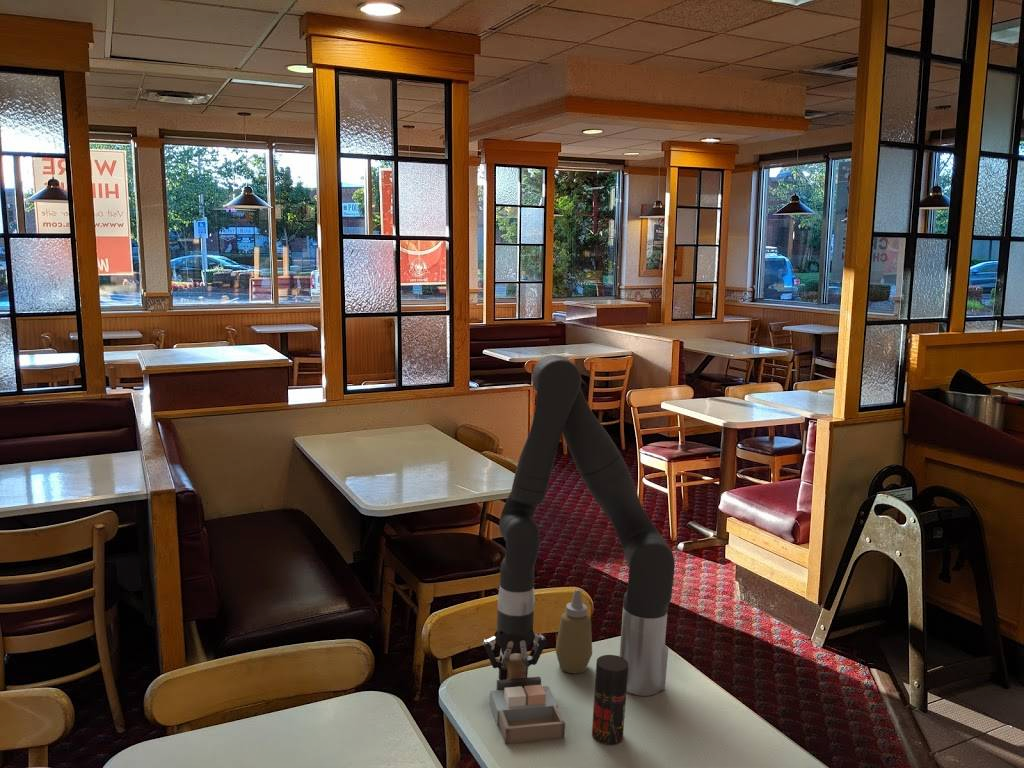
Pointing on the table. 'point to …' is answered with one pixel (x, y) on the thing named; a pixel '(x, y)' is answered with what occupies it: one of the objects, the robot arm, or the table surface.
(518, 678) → the scraper
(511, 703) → the tile
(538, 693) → the tile
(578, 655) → the squeeze bottle
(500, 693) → the grey flat-topped cover
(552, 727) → the box
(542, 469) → the robot arm
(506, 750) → the table surface
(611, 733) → the deodorant
